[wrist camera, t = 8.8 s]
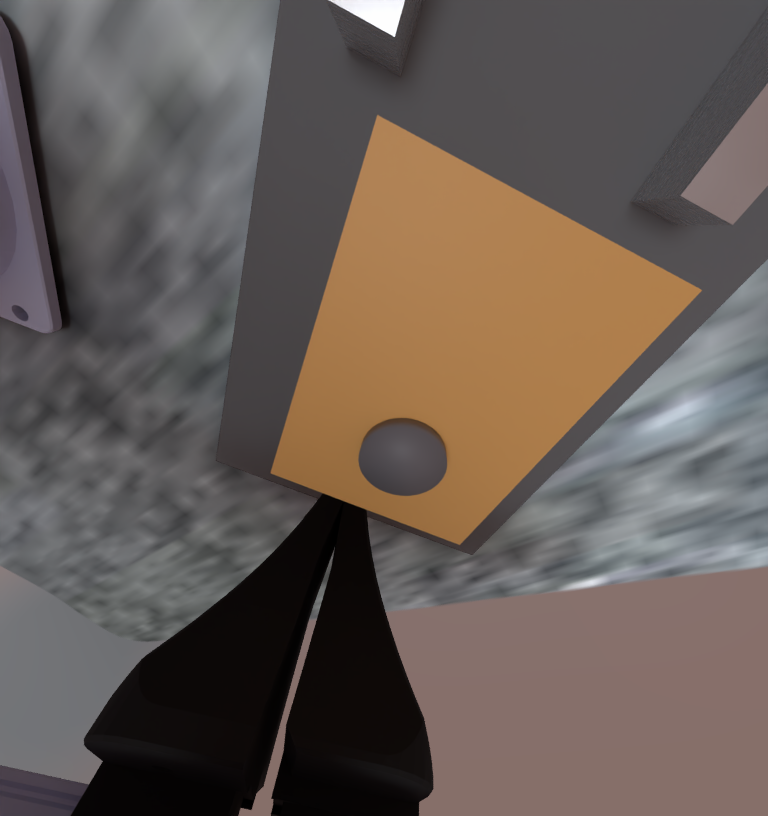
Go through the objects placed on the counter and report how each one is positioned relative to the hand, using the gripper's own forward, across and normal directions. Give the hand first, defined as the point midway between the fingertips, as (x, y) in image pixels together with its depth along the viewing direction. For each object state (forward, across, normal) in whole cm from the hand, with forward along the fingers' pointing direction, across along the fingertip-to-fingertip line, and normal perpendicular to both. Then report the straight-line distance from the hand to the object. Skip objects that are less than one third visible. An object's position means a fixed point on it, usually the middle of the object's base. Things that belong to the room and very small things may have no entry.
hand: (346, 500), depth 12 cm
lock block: (+1, -1, -7) cm, 7 cm away
